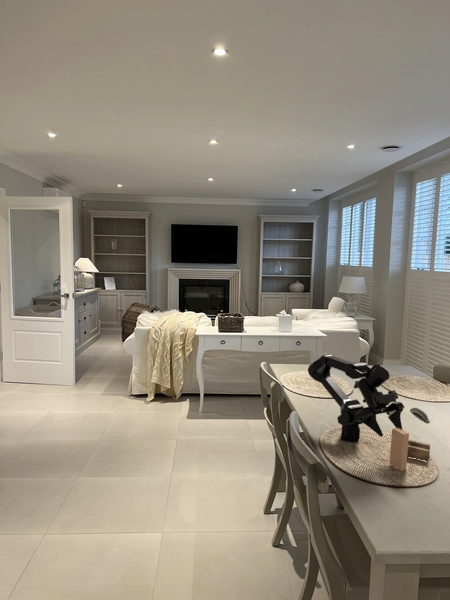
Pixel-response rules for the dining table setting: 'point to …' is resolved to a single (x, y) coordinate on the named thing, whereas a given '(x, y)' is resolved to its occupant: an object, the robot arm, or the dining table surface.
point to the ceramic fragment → (420, 413)
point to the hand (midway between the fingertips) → (391, 434)
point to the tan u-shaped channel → (418, 450)
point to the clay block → (399, 449)
